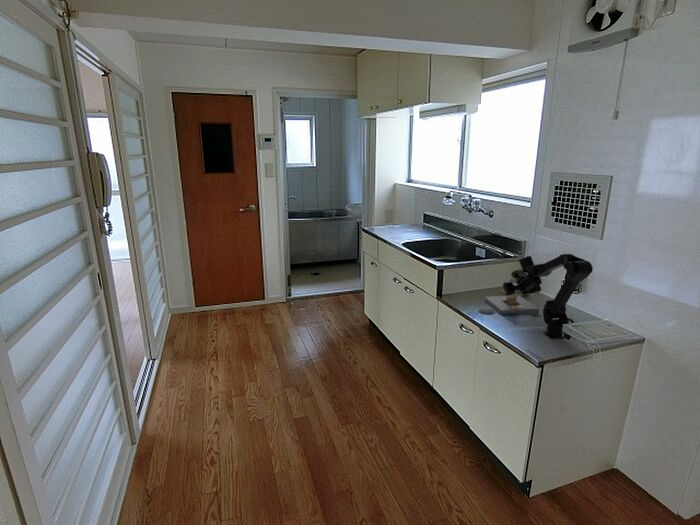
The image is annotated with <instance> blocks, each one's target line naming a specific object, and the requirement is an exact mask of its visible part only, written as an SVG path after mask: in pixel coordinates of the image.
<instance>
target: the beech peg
mask: <svg viewBox="0 0 700 525" xmlns="http://www.w3.org/2000/svg"><path fill="white" fill-rule="evenodd" d="M513 285H514V286H517V284H514V283H513ZM516 299H517V291H515V293H514V294H513V295H509V296H507V297H506V304H507V305H516Z"/></svg>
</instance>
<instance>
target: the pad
mask: <svg viewBox="0 0 700 525" xmlns="http://www.w3.org/2000/svg"><path fill="white" fill-rule="evenodd" d="M478 312H479V313H480V314H482V315H490V316H492V315H495V313H496V312H495V311H494V310H493V309H490V308H479V309H478Z"/></svg>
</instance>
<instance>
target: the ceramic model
mask: <svg viewBox="0 0 700 525" xmlns="http://www.w3.org/2000/svg"><path fill="white" fill-rule="evenodd" d="M516 280H517V279H516V278H513V277H511V278H509V279H508V280H506V281H505V282H512V283H514V284H518V283H516ZM500 292H501V293H502V292H503V293H502V294H504V296H506V293H505V290H504V288H503V289H501V290H500ZM517 295H519V296H521V297H525V296H524V295H526V296H528V294H524V295H522V292H521V291H520V290H519V291H517Z"/></svg>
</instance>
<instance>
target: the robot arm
mask: <svg viewBox="0 0 700 525" xmlns="http://www.w3.org/2000/svg"><path fill="white" fill-rule="evenodd" d="M518 262H519V265H520V268H521V269H515V270H513V271H511V274H510V275H511V278H513V279H514V278H516V279H517V280H516V283H518V284H517V286H514V285H513V283H512V282H506V281H504V282H503V284H502V286H503V289H504V290H505V293H506V295H505V296H509V295H513V294H514V293H515V291H519V290H520V291H521V292H522V295H524V294H527V295H530V294H536V293H540V292H541V291H542V286H541V285H542V284H543V282H542V278H543V277H548V276H550V275H551V274H552V273H553V271H555V270H556V269H559V268H561V267H563V269H564V270H565V271H566V279H565V280H564V282H563V283H562V284H561V285H562V286H560V288H559V289H558V292H557V293H556V295H555V297H554V299H551V300H550V299H549V300H547V301H545V304H544V305H543V307H542V308H543V309H542V317H543V322H544V323H545V325H546V331H543V332H542V333H543V334H544V335H546V336H547V337H548V338H550V339H553V340H554V339H565V338H566V337H565V335H563V328H564V325H568V323H569V322H570V321H569V317H568V316H567V313H566V312H567V306H566V305H567V303H568V302H569V300H570V299H571V297H572V295H573V294H574V292H575V290H576V289H577V287H578V286H579V284H580V283H581V282H582V281H583V280H585V279H587V278H588V277H589V276H590V275H591V274H592V273H593V271H594V270H593V268H594V267H593V265H592V264H591V262H590V261H588V260H586V259H585V258H584V259H583V258H582V257H578V256H576V255H574V254H572V253H562V254H559V256H556V257H554V258H551V259H550V260H549V261H546V262H544V263H538V264H537V263H536V264H535V263H534V261H533V259H532V256H531V255H528V256H525V257H522V258H520V259H519V260H518Z"/></svg>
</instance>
